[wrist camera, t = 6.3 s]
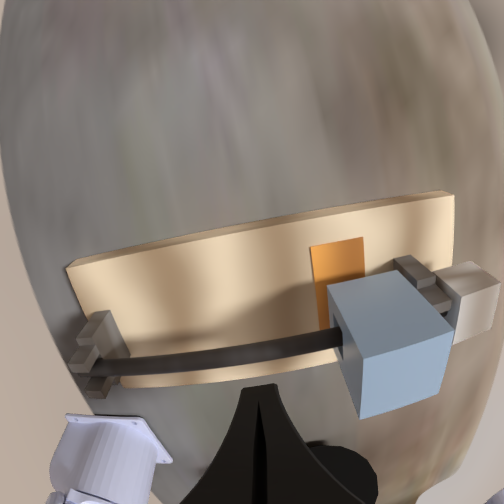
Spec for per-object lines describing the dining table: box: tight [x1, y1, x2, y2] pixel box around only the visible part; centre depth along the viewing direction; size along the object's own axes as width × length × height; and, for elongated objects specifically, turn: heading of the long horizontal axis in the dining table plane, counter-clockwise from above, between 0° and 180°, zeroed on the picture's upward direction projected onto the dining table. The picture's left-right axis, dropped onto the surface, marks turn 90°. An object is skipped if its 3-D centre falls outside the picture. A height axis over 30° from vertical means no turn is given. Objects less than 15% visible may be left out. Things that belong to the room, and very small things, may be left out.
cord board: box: [66, 190, 501, 399], centre depth 16 cm, size 24×10×6 cm, turn 101°
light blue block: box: [327, 270, 455, 420], centre depth 13 cm, size 4×4×6 cm
